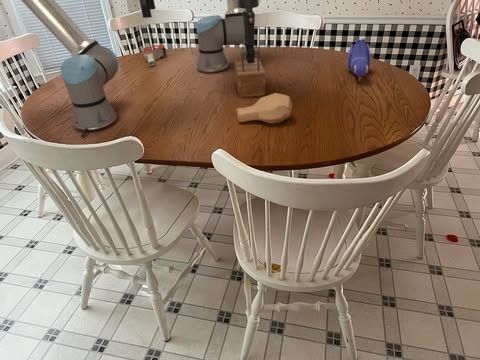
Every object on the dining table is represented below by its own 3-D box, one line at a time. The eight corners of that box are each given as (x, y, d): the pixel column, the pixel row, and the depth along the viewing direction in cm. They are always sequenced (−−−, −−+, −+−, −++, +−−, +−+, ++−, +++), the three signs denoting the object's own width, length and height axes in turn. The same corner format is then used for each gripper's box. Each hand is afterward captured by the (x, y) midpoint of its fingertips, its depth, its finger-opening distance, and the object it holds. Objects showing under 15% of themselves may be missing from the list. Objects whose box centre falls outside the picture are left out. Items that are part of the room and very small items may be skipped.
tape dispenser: (152, 70, 182) (177, 56, 195) (150, 60, 179) (175, 46, 191) (127, 64, 190) (153, 51, 202) (125, 54, 186) (151, 41, 199)
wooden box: (265, 95, 146) (264, 73, 140) (239, 97, 145) (238, 75, 140) (259, 80, 159) (258, 60, 154) (235, 82, 159) (234, 62, 153)
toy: (345, 75, 169) (348, 84, 147) (347, 38, 162) (351, 41, 140) (367, 75, 167) (373, 84, 145) (370, 36, 160) (377, 40, 138)
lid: (265, 73, 140) (264, 51, 135) (238, 75, 139) (236, 53, 134) (258, 60, 154) (258, 39, 149) (234, 62, 153) (233, 41, 148)
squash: (296, 124, 124) (294, 103, 117) (239, 134, 126) (235, 113, 119) (291, 106, 131) (289, 85, 125) (238, 116, 133) (233, 96, 127)
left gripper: (143, -62, 99) (157, 20, 111) (151, -64, 119) (163, 5, 131) (115, -60, 98) (133, 22, 111) (129, -63, 118) (142, 7, 131)
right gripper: (262, -3, 119) (263, 67, 133) (255, -10, 132) (256, 54, 146) (239, -1, 119) (243, 68, 133) (235, -9, 132) (238, 55, 146)
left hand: (149, 13), depth 121 cm, fingers open, 13 cm apart
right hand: (250, 61), depth 139 cm, fingers open, 3 cm apart
